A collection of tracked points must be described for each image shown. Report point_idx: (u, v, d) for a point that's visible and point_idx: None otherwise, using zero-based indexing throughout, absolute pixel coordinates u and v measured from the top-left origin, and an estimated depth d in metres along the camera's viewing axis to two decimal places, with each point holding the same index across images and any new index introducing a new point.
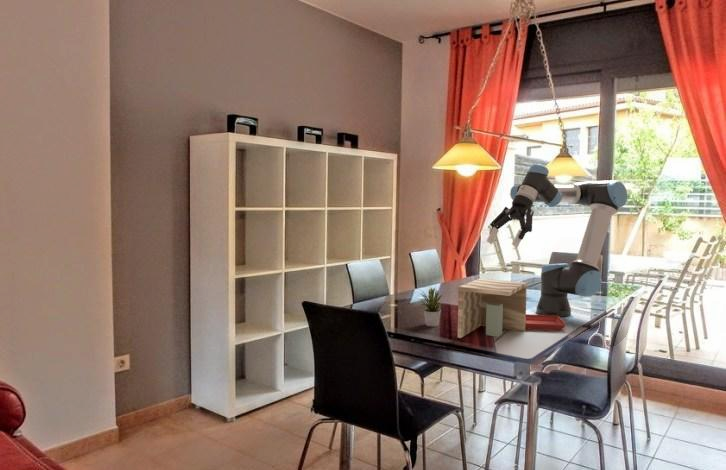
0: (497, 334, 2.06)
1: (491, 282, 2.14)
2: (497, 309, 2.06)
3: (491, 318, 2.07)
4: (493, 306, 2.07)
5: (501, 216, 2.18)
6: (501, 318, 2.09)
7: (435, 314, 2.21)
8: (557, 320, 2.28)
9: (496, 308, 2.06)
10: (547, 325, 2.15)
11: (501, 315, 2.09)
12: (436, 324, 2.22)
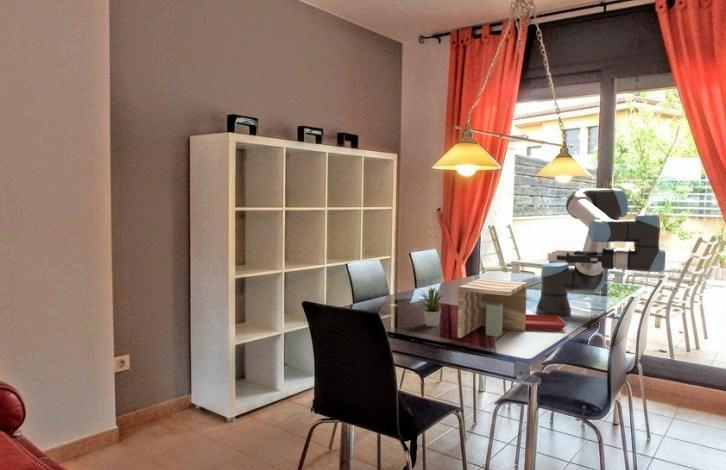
0: (497, 334, 2.06)
1: (491, 282, 2.14)
2: (497, 309, 2.06)
3: (491, 318, 2.07)
4: (493, 306, 2.07)
5: None
6: (501, 318, 2.09)
7: (435, 314, 2.21)
8: (557, 320, 2.28)
9: (496, 308, 2.06)
10: (547, 325, 2.15)
11: (501, 315, 2.09)
12: (436, 324, 2.22)
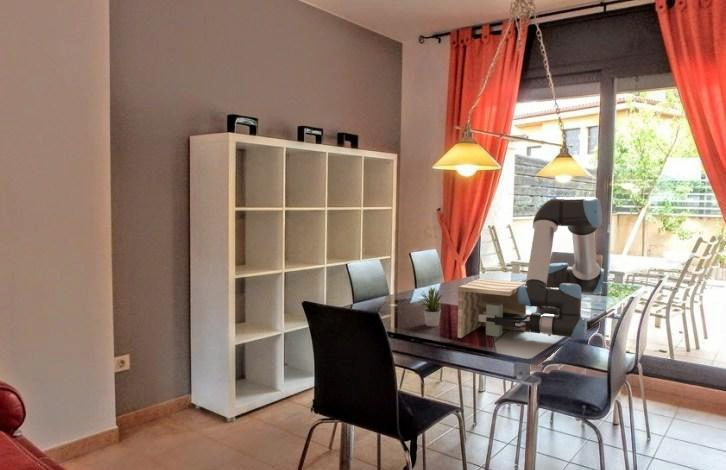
0: (497, 334, 2.06)
1: (491, 282, 2.14)
2: (497, 309, 2.06)
3: None
4: (493, 306, 2.07)
5: None
6: None
7: (435, 314, 2.21)
8: None
9: (496, 308, 2.06)
10: None
11: (501, 315, 2.09)
12: (436, 324, 2.22)
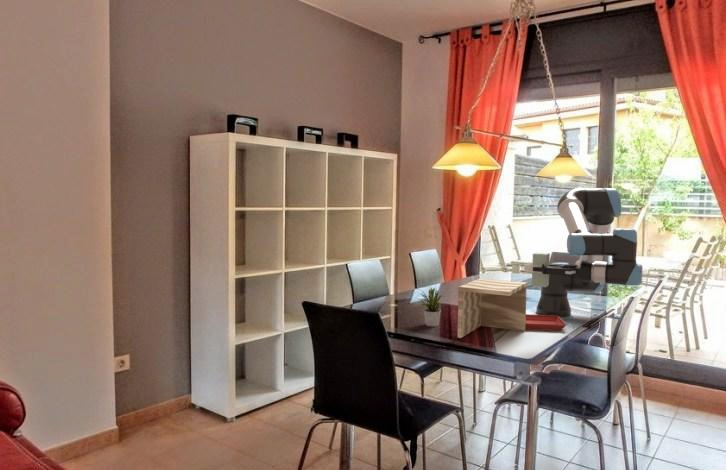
0: (544, 284, 1.96)
1: (491, 282, 2.14)
2: (544, 258, 1.95)
3: None
4: (540, 255, 1.96)
5: None
6: None
7: (435, 314, 2.21)
8: (557, 320, 2.28)
9: (543, 257, 1.95)
10: (547, 325, 2.15)
11: (548, 265, 1.98)
12: (436, 324, 2.22)
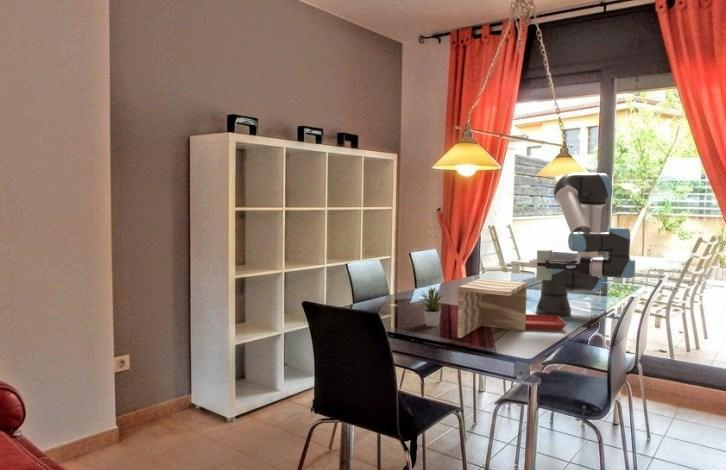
0: (547, 278, 2.18)
1: (491, 282, 2.14)
2: (547, 254, 2.18)
3: None
4: (544, 251, 2.18)
5: None
6: None
7: (435, 314, 2.21)
8: (557, 320, 2.28)
9: (546, 253, 2.18)
10: (547, 325, 2.15)
11: (551, 261, 2.20)
12: (436, 324, 2.22)
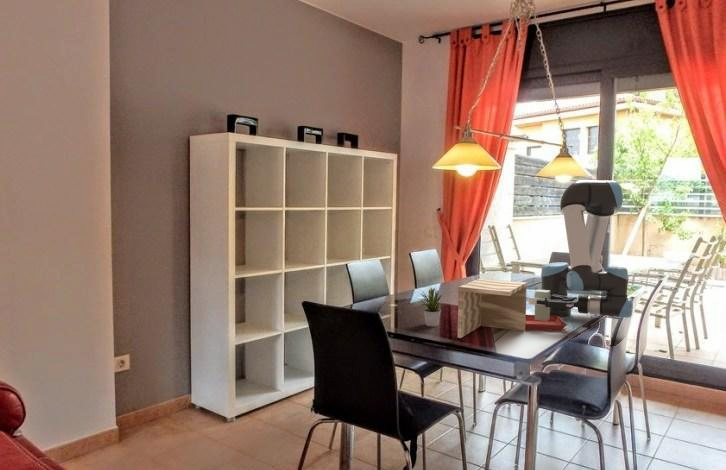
0: (546, 319, 2.20)
1: (491, 282, 2.14)
2: (545, 296, 2.20)
3: None
4: (542, 293, 2.20)
5: None
6: None
7: (435, 314, 2.21)
8: (557, 320, 2.28)
9: (544, 294, 2.20)
10: (547, 325, 2.15)
11: None
12: (436, 324, 2.22)
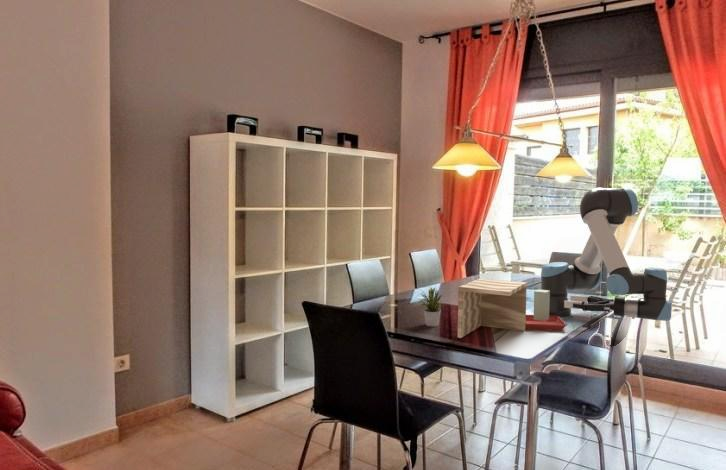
0: (544, 319, 2.20)
1: (491, 282, 2.14)
2: (544, 296, 2.20)
3: (539, 304, 2.21)
4: (540, 293, 2.20)
5: None
6: (548, 304, 2.23)
7: (435, 314, 2.21)
8: (557, 320, 2.28)
9: (543, 294, 2.20)
10: (547, 325, 2.15)
11: (548, 301, 2.22)
12: (436, 324, 2.22)
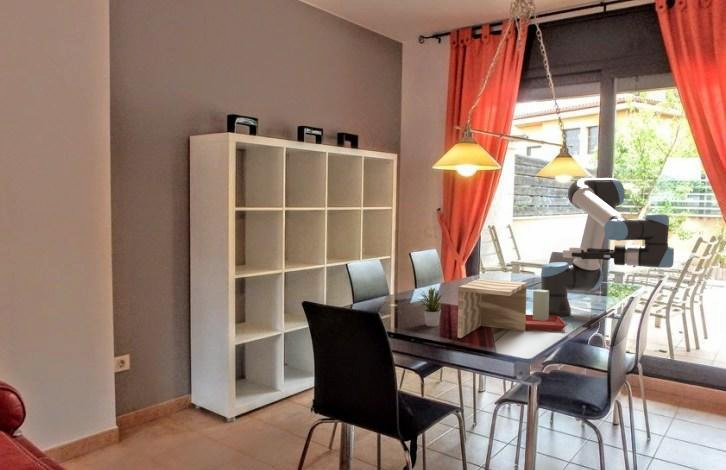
0: (543, 319, 2.20)
1: (491, 282, 2.14)
2: (543, 295, 2.20)
3: (538, 304, 2.21)
4: (540, 292, 2.21)
5: None
6: (548, 304, 2.23)
7: (435, 314, 2.21)
8: (557, 320, 2.28)
9: (542, 294, 2.20)
10: (547, 325, 2.15)
11: (547, 301, 2.22)
12: (436, 324, 2.22)
